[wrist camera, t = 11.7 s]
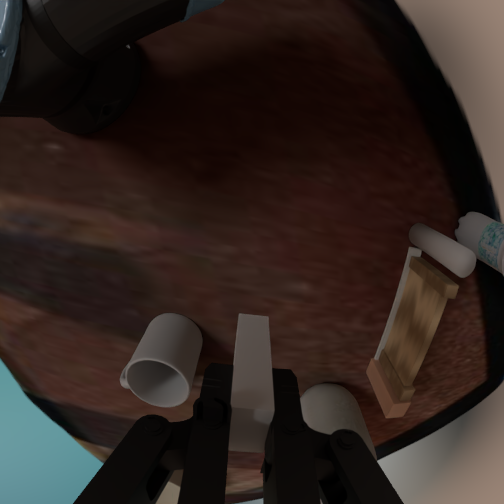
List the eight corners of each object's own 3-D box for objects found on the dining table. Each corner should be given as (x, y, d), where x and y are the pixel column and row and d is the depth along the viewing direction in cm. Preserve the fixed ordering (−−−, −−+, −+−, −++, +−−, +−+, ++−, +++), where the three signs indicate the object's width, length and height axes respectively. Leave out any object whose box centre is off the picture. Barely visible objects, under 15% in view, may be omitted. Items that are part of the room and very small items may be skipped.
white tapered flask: (362, 381, 48) (413, 521, 21) (326, 417, 50) (354, 551, 24) (316, 363, 46) (354, 525, 19) (281, 403, 49) (293, 552, 22)
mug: (183, 303, 43) (164, 349, 32) (213, 348, 45) (203, 399, 35) (121, 330, 45) (93, 374, 34) (151, 370, 47) (132, 417, 37)
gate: (411, 255, 39) (448, 285, 30) (421, 257, 39) (458, 286, 30) (378, 359, 45) (399, 401, 35) (387, 359, 45) (410, 400, 35)
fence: (411, 221, 39) (459, 248, 27) (429, 224, 39) (479, 251, 27) (365, 372, 47) (387, 423, 35) (381, 371, 47) (405, 421, 36)
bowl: (189, 480, 59) (183, 512, 49) (125, 460, 57) (114, 491, 48) (203, 450, 54) (198, 488, 44) (129, 426, 52) (115, 462, 43)
